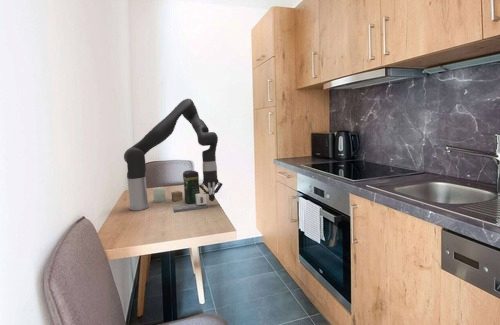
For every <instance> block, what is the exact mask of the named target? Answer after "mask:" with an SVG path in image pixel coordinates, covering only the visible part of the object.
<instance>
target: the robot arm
mask: <svg viewBox="0 0 500 325" xmlns="http://www.w3.org/2000/svg"><path fill="white" fill-rule="evenodd" d="M181 116H182V117H183V118H184V119H185V120H186V121H187V122H188V123H189V124H190V125H191V126H192V128H193V130H194V132H195V134H196V137H197V143H198V145H200V146H202V147H206V146H207V147H208V146H209V148H208V149H205V150H202V153H201V156H202V178H203V180H202V183H201V184H199V189H201V190H202V192H203V193H205V194H206V195H208V200H209V201H210V202H215V199H216V198H215V194H217V193H218V192H219V191H220V190H221V188H222V186H223V183H222V182H220V181H219V179H218V167H217V166H218V165H217V158H216V152H217V151H216V150H217V146H218V141H219V138H218V134H217V133H216V132H215V131H209V130H210V129H209V127H208V125H207V124H206V123H205V121H204V120H203V119H201V118H200V116H199V113H198V109H197V106H196V105H195V103H194V102H193V100H192V99H191V98H186V99H183V100H181V101H180V102H179V103H178V104H177V105H176V106H175V107H174V108H173V109H172V110H171V111H170V113H168V114H167V115H166V116H165V117H164V118H163V119H162V120H160V121H159V122H158V123H157V124H156V125H155V126H153V128H151V130H149V131H148V132H147V134H145V135H144V136H143V138H141V139H140V140H139V141H138V142H136V143H135V144H134V145H132V146H131V147H129V148H128V149H126V151H125V152H124V154H123V159H124V162H125V163H126V167H127V173H126V178H127V179H126V180H127V187H128V188H127V189H128V199H129V208H130V211H142V210H146V209H148V208H149V200H148V189H147V178H146V172H147V166H146V165H147V164H146V156H145V155H147V153H148V152H149V151H150V150H151V149H153V148H155V147H157V146H158V145H161V143H163V142H165V141H166V140H167V139H168V138H169V137H170V136H171V135H172V134H173V132H174V131H175V129H176V125H177V123H178V120H179V119H180V118H181ZM205 188H206V189H205Z"/></svg>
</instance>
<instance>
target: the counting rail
mask: <svg viewBox="0 0 500 325" xmlns="http://www.w3.org/2000/svg"><path fill="white" fill-rule="evenodd" d="M172 209H173V212H174V213H180V212H187V211H195V210H202V209H208V205H207V204H203V205H197V204H196V203H195V204H194V203H191V204H189V203H187V204H182V205H174V206H173V207H172Z"/></svg>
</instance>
